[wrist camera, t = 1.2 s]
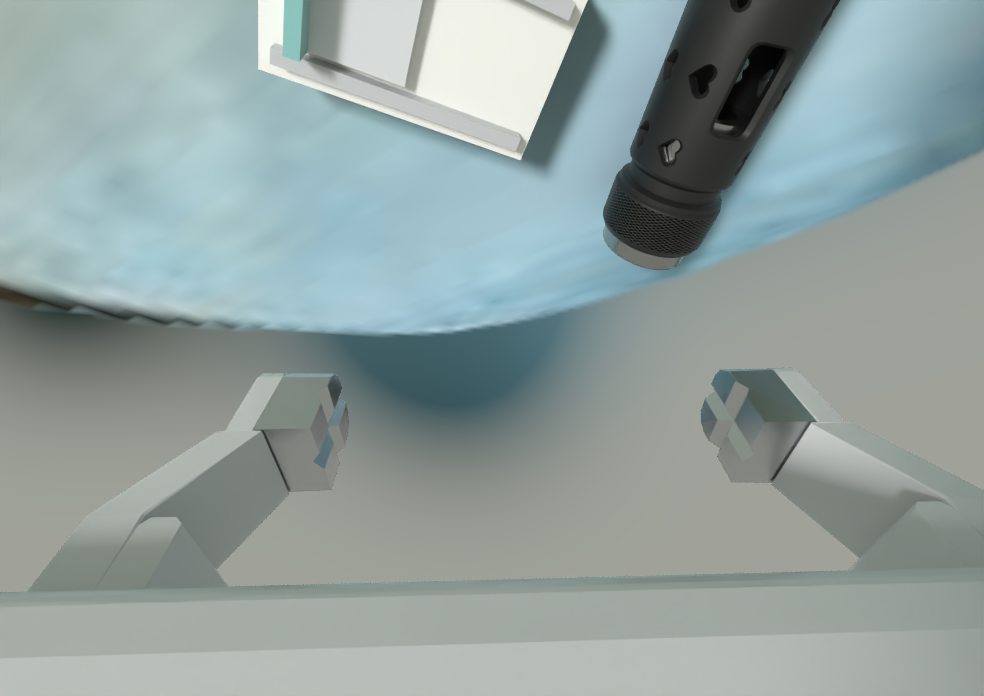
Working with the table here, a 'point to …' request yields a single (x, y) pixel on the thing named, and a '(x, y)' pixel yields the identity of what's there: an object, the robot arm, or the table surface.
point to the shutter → (354, 34)
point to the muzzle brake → (705, 121)
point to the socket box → (452, 67)
